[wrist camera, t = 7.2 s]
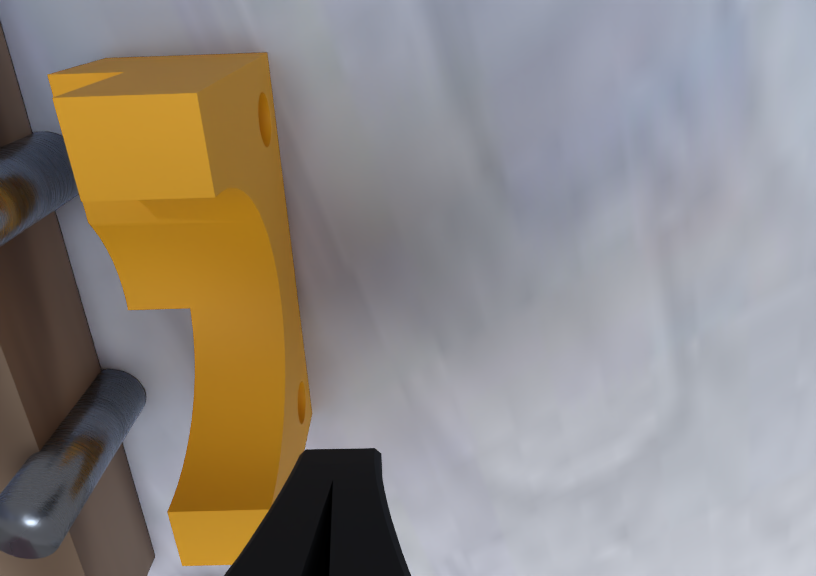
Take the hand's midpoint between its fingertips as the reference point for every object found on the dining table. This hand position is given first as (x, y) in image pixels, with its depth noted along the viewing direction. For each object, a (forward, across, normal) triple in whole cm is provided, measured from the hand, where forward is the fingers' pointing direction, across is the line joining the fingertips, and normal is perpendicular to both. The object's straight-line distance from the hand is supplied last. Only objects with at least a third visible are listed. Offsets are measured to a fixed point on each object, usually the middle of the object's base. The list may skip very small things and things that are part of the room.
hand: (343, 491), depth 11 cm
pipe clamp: (+10, +4, 0) cm, 11 cm away
